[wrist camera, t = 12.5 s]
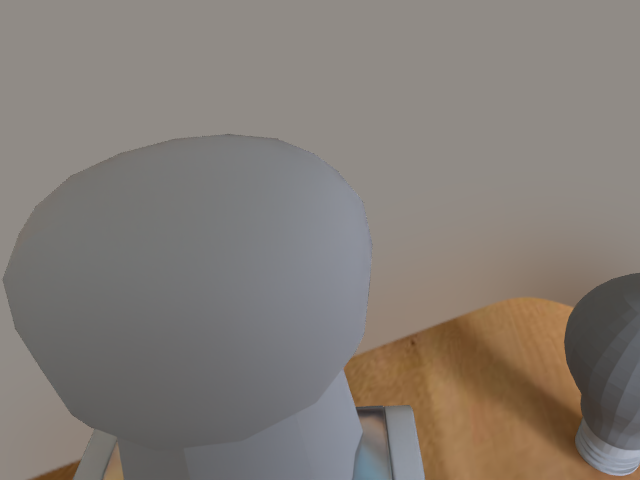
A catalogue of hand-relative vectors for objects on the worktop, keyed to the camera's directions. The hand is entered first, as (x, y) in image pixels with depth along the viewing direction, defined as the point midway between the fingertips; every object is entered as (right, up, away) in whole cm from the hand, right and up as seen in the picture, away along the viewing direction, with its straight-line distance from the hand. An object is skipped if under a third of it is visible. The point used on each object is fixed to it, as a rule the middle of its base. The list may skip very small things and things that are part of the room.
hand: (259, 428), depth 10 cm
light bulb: (+14, -7, +14) cm, 21 cm away
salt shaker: (0, -7, +3) cm, 7 cm away
